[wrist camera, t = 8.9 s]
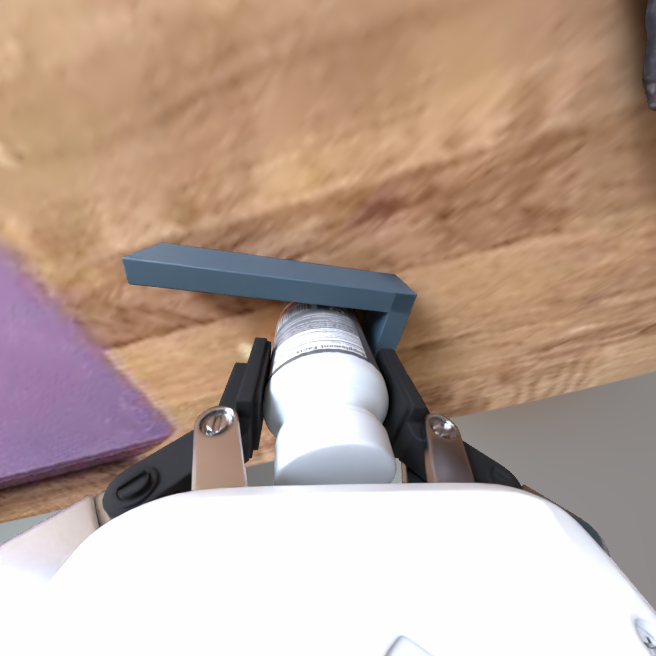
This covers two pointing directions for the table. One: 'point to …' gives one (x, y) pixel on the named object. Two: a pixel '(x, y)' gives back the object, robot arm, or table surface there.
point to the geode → (650, 55)
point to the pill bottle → (326, 401)
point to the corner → (279, 284)
